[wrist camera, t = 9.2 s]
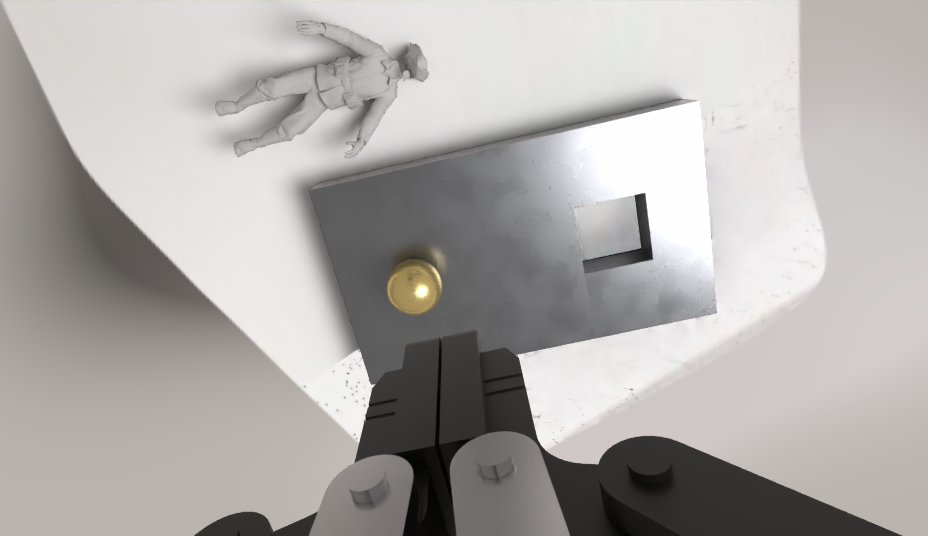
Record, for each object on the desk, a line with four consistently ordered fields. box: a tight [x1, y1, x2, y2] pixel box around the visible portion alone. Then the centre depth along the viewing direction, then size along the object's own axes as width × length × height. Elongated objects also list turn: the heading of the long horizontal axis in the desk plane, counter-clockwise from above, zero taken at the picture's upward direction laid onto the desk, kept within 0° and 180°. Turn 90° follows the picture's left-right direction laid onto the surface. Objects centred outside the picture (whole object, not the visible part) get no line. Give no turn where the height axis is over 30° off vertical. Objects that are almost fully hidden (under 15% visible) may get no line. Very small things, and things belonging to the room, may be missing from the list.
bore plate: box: [309, 99, 717, 385], centre depth 37 cm, size 14×24×2 cm, turn 103°
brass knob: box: [386, 259, 442, 315], centre depth 35 cm, size 4×4×4 cm
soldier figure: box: [215, 21, 429, 158], centre depth 33 cm, size 8×5×12 cm
